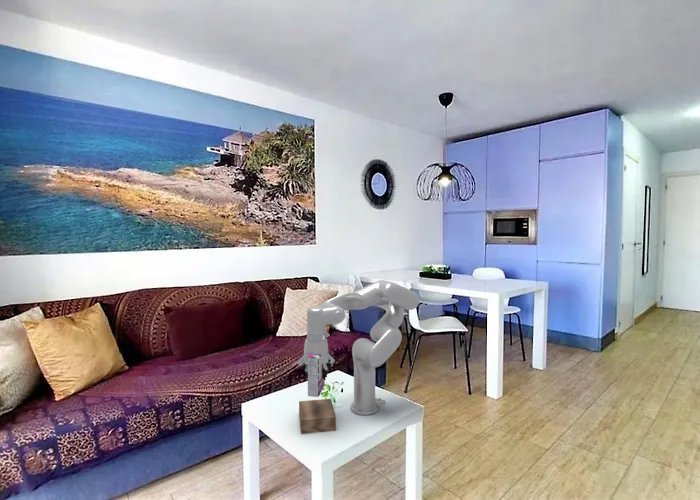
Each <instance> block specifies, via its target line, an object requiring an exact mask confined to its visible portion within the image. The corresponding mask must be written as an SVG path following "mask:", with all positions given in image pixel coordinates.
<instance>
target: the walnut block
mask: <svg viewBox="0 0 700 500" xmlns="http://www.w3.org/2000/svg"><path fill="white" fill-rule="evenodd" d="M298 415H299V428H300V435H304V434H306V435H307V434H314V433H317V434H318V433H325V432H334V431H335V432H336V431H337V416H336V412H335V409H334V404H333V401H332V398H324V399H322V398H321V399H312V400H299V401H298Z"/></svg>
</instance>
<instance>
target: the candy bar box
mask: <svg viewBox="0 0 700 500" xmlns="http://www.w3.org/2000/svg"><path fill="white" fill-rule="evenodd" d="M323 369H324V366H323V364H321V355H309V356H308V381H307V397H317V398H318V397H319V398H320V395H321V394H322V391H323V389H324V388H325V384H326V382H325V381H326V380H324V379H323Z"/></svg>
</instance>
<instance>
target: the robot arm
mask: <svg viewBox="0 0 700 500" xmlns="http://www.w3.org/2000/svg"><path fill="white" fill-rule="evenodd" d="M381 301H387V302H388V308H387V311H386V312H385V313H384V314H383V316H382V317H381V318H380V319H379V320H378V321H377V322H376V323H375V324H374V325H373V326H372V328H370V332H369V336H370V338H371V340H370V339H368V338H364V337H360V338H358V339H356V340H355V341H354V342H353V344H352V349H351V354H352V361H353V402H351V403H350V410H351V412H353V413H354V414H357V415H359V416H360V415H361V416H369V415H370V416H371V415H374V414H376V413H377V412H378V411H379V406H380V405H386V399H382V397H378V398H377V397H376V368H378V367H382V365H383V364H384V363H386V361H387V360H388V359H389V358H391V356H392V355H393V353H395V352H396V351H397V349H398V348H399V346H400V344H402V343H401V342H402V339H403V336H402V332H401V330H400V329H399V327H400V325H402V323H403V321H404V318H405V316H404V315H405V310H408V311H413V310H415V309H416V308H417V307H418V306H419V304H420V297H419V295H418V293H417V292H415V291H413V290H411V289H409V288H406V287H404V286H403V285H400V284H398V283H396V282H393V281H389V280H385V279H380V280H376V281H374V282H372V283H370V284H369V285H366V286H364V287H362V288H360V289H358V290H355V291H352V292H347V293H344V294H343V293H342V294H340V295H337V296H333V297H332V298H329V299H328V300H325V301H324V302H323V303H321V304H320V305H317V306H316V305H315V306H310V307H308V308H307V310H306V338H305V341H304V345H303V347H304V348H303V355H302V356H301V357H300V358H299V359H298V360H297V361H296V363H297V365H299V366H300V367H301V369H303V371H305V379H306V380H307V382H308V356H309V355H321V364H323V366H324V369H323V379H324V380H325V381H326V379H327V378H328V370H329V368H331V366H332V365H333V364H334V363H335V362H336V360H335V358H334V357H332V356H331V355H330V353H329V343H328V337H330V333H327V332H326V325H338V324H341V323H342V322H344V321H345V319H346V312H345V311H349V310H351V311H352V310H358V311H359V310H364V309H367V308H369V307H371V306H372V305H375V304H376V303H378V302H381ZM372 340H373V341H372ZM329 360H330V361H329ZM303 362H304V363H303Z"/></svg>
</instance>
